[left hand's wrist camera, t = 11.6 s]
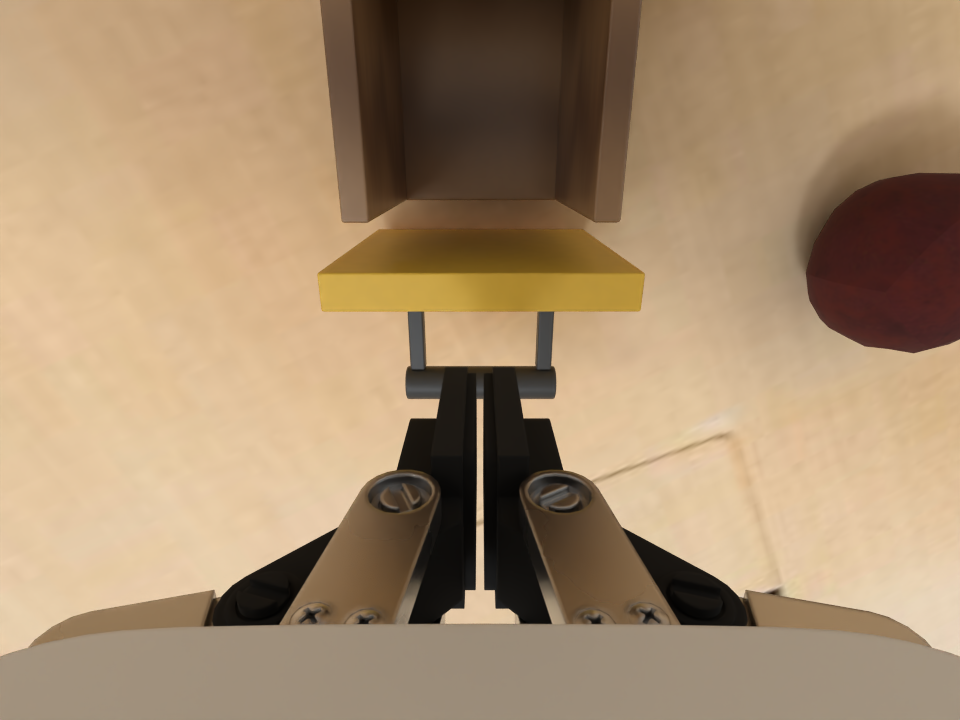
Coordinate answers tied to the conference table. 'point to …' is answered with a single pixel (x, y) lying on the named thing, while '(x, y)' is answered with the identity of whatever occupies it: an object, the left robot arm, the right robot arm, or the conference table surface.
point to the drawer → (480, 160)
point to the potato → (892, 264)
